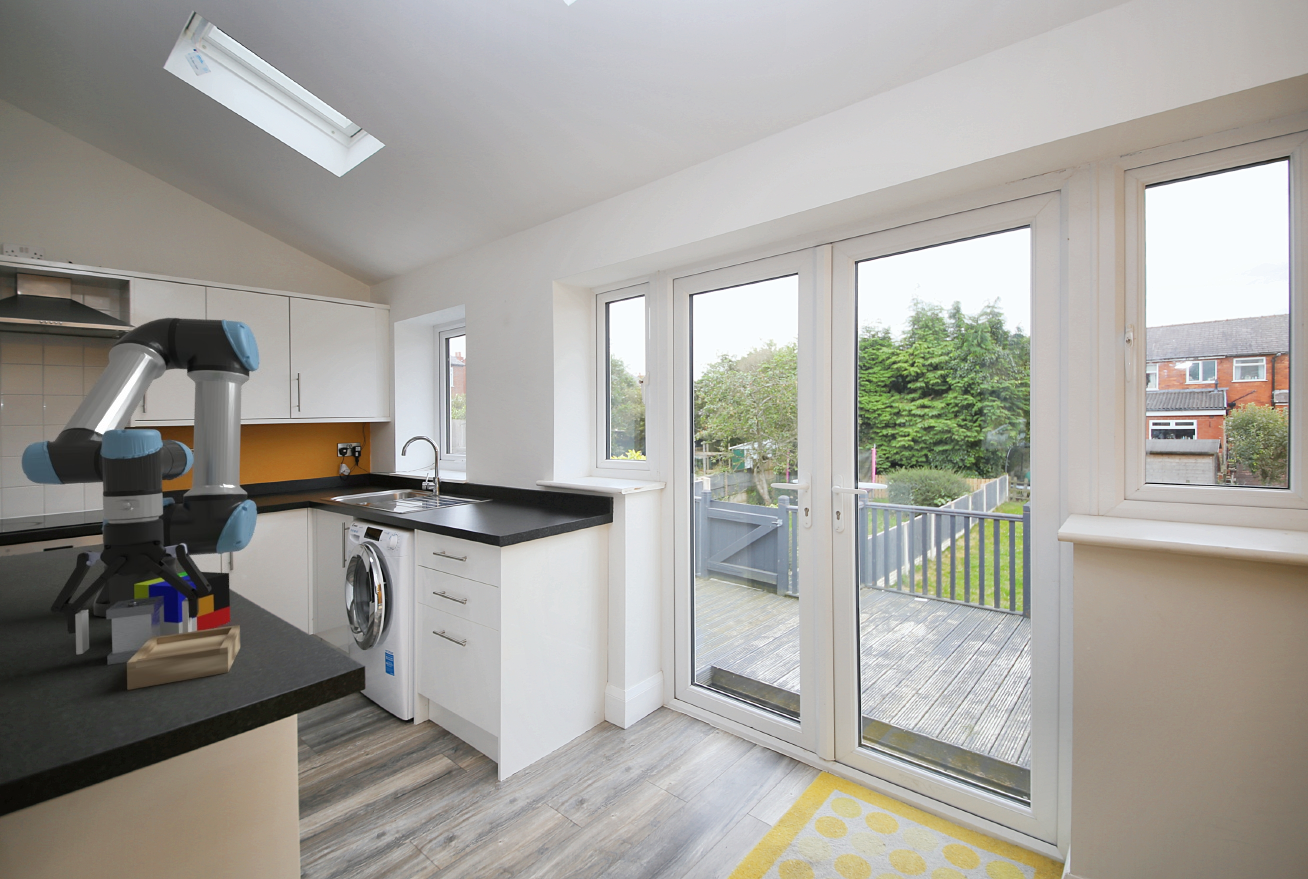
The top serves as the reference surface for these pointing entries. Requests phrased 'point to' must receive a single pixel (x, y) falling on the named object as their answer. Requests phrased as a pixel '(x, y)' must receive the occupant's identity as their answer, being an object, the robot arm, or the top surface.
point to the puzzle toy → (210, 605)
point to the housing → (133, 626)
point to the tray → (183, 656)
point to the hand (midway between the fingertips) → (136, 643)
